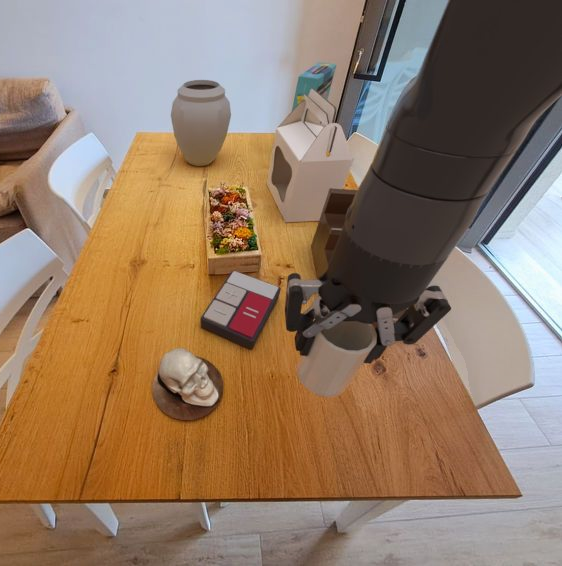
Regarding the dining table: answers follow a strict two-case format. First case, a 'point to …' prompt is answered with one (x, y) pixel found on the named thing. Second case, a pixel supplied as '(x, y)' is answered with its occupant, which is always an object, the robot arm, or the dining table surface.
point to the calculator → (241, 309)
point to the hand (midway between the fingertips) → (333, 352)
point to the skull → (186, 385)
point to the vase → (200, 120)
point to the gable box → (308, 159)
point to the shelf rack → (333, 231)
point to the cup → (336, 357)
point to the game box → (314, 82)
